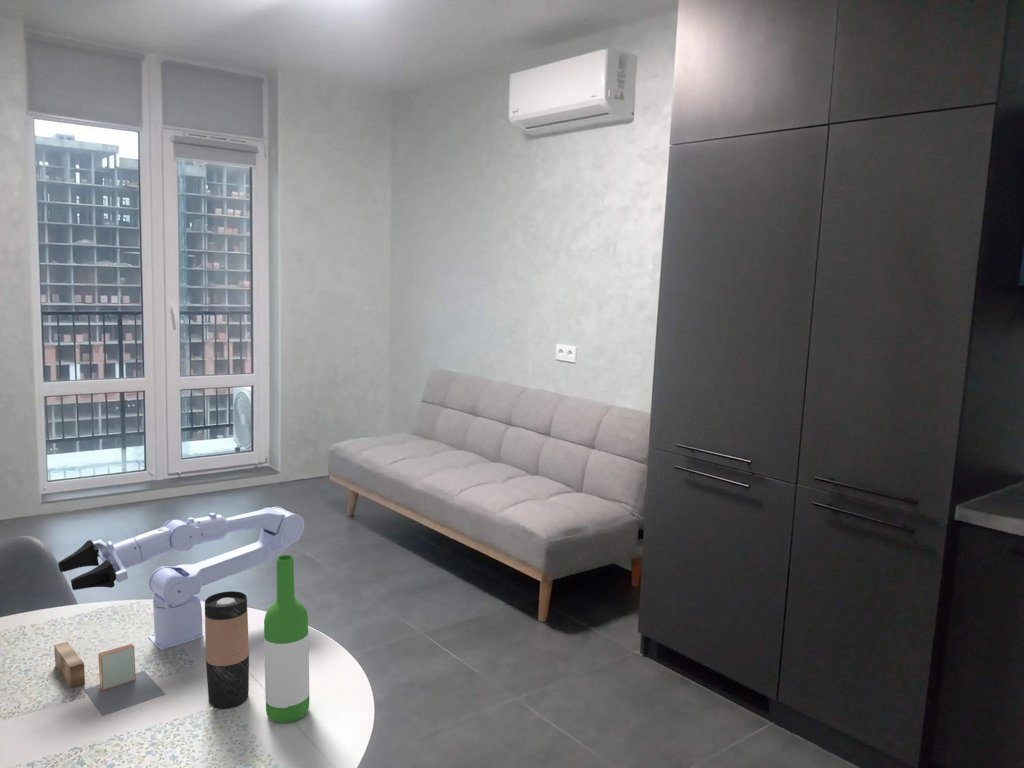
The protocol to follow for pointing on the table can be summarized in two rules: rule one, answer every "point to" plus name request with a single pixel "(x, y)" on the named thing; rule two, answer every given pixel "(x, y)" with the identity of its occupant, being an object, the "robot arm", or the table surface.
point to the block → (117, 667)
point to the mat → (124, 694)
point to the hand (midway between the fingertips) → (65, 576)
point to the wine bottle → (286, 650)
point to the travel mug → (227, 649)
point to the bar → (69, 665)
